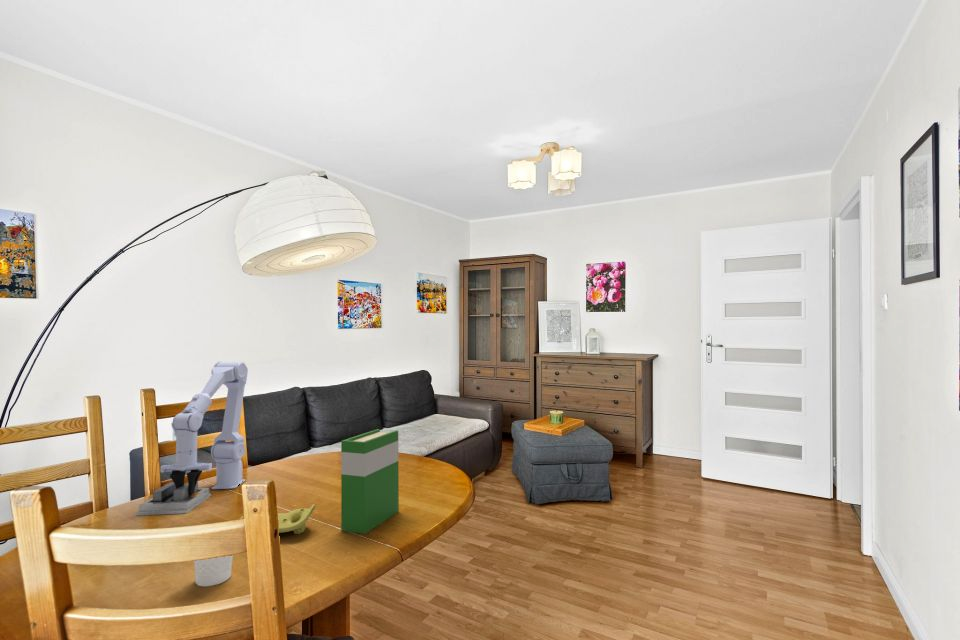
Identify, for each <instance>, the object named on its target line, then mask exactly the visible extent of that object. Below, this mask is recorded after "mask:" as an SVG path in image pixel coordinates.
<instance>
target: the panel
mask: <svg viewBox="0 0 960 640" xmlns="http://www.w3.org/2000/svg"><path fill="white" fill-rule="evenodd" d="M198 488H199V480H198V481H197V483H196V486H195V490H194V493H196V492H198ZM194 493H193V494H194ZM190 497H191V495H189V493H188V482H186V483H184V485H183V486H181V487H179V488H178V489H176V490H174V501H185V500H187V499H188V498H190Z"/></svg>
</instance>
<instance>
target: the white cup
mask: <svg viewBox="0 0 960 640" xmlns="http://www.w3.org/2000/svg"><path fill="white" fill-rule="evenodd" d="M233 557H234V554H233V555H232V556H225V557H218V558H211V559H205V560H197V561H194V560H193V563H194V564H193V565H194V566H193V567H194V576H195V580H194V582H195V584H196V585H197V586H198V587H213V586H217V585H220V584H222V583H225V582H226V581H227V580H229V579H230V578H231V575H232V564H233Z"/></svg>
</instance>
